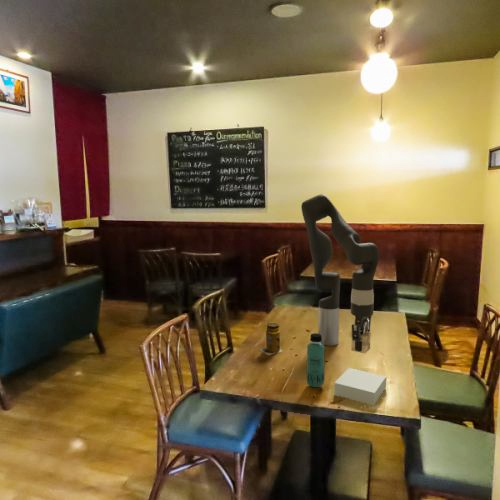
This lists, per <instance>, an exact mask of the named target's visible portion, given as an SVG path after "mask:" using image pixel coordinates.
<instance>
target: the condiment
mask: <svg viewBox="0 0 500 500" xmlns="http://www.w3.org/2000/svg"><path fill="white" fill-rule="evenodd" d="M265 333H266V334H265V336H266V337H265V339H266V341H265V342H266V347H264V348H260V349H259V351H260V352H262V353H263V354H265V355H267V356H271V355H274V354H279V353H282V352H284V350H282V349H281V339H280V338H281V333H280V325H279V323H276V322H271V323H268V324H267V325H266V332H265Z"/></svg>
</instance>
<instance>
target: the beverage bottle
mask: <svg viewBox="0 0 500 500" xmlns="http://www.w3.org/2000/svg"><path fill="white" fill-rule="evenodd" d="M309 339H310V340H309V341H310V343H308V344H307V345H306V348H307V349H306V351H307V352H306V353H307V354H306V383H307V385H308V386H310V387H314V388H315V387H316V388H318V387H321V386H323V385H324V383H325V368H326V367H325V349H326V347H325V345H323V344H322V343H320V342H321V341H322V336H321V334H319V332H318V333H317V332H314V333H311V334H310V338H309Z"/></svg>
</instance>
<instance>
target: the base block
mask: <svg viewBox="0 0 500 500" xmlns="http://www.w3.org/2000/svg"><path fill="white" fill-rule="evenodd" d="M385 388H386V389H387V376H386V375H381V374H378V373H373V372H368V371H363V370H359V369H355V368H351V367H347V369H346V370H345V371H344V372H343V373H342V374H341V375H340V376H339V378H338V379H337V380H335V381H334V396H336V397H340V396H341V397H340V398H343V397H345V398H344V399H347V398H349V399H348V400H351V399H353V400H352V401H354V400H356V401H355V402H358V401H360V402H359V403H362V402H363V403H362V404H365V403H367V405H369V404H371V405H370V406H373V405H375V406H376V404H377V403H376V402H378V401H379V400H380V398H381V397H382V395H383V394H384V392H385V391H386V389H385ZM384 390H385V391H384ZM383 391H384V392H383ZM382 393H383V394H382ZM381 394H382V395H381ZM380 396H381V397H380ZM379 397H380V398H379ZM378 399H379V400H378ZM377 400H378V401H377ZM375 403H376V404H375Z"/></svg>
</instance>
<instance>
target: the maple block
mask: <svg viewBox="0 0 500 500" xmlns="http://www.w3.org/2000/svg"><path fill="white" fill-rule="evenodd" d="M360 332H362V331H360ZM371 336H372V335H371V332H365V333H364V335H363V336H362V351H356V350H355V340H352V339H351V349H350V350H351V351H352V352H356V353H362V354H367V353H368V352H369V350H371ZM357 337H358V336H357Z"/></svg>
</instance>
